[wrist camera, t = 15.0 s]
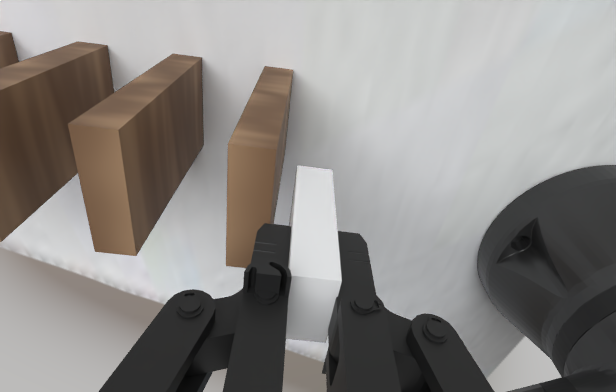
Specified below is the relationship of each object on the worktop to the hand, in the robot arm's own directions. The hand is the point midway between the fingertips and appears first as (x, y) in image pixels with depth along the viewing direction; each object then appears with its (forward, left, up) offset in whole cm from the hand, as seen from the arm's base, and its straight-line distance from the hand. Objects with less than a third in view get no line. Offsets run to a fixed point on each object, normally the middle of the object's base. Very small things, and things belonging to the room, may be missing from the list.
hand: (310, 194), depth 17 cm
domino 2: (+4, +7, -11) cm, 13 cm away
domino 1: (+7, +12, -11) cm, 18 cm away
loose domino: (+1, +2, -11) cm, 11 cm away
